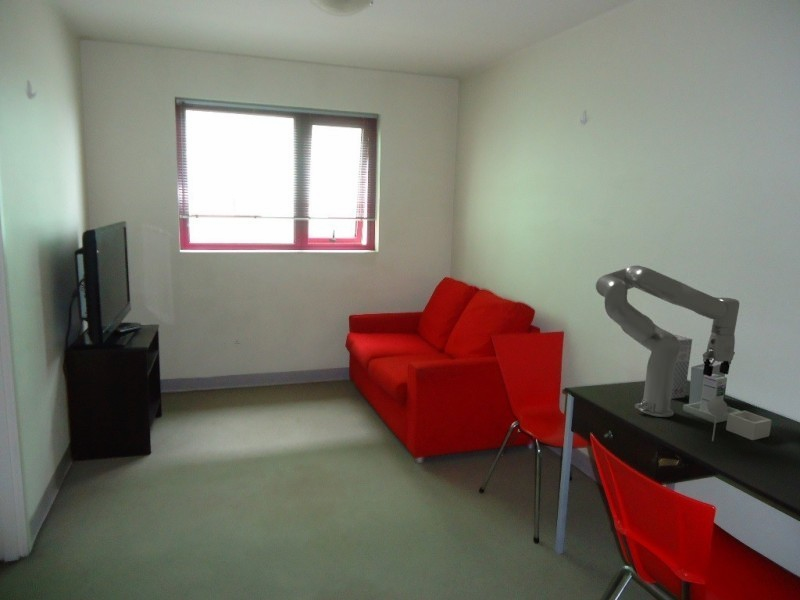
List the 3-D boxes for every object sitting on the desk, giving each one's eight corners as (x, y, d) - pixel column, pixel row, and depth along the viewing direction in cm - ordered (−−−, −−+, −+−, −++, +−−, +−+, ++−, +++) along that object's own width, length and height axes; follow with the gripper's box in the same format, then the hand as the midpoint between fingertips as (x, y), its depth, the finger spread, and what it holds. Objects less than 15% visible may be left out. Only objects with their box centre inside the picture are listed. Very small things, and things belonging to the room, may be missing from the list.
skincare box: (702, 408, 218) (703, 368, 217) (688, 405, 222) (689, 366, 221) (725, 399, 231) (726, 362, 230) (711, 397, 235) (712, 360, 234)
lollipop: (722, 446, 183) (728, 403, 180) (702, 441, 186) (708, 399, 183) (722, 440, 188) (729, 398, 185) (703, 435, 191) (709, 394, 188)
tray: (713, 423, 203) (714, 416, 203) (682, 410, 214) (683, 404, 214) (741, 417, 210) (742, 411, 210) (709, 405, 221) (710, 399, 221)
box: (670, 399, 228) (677, 340, 224) (653, 392, 235) (660, 335, 231) (684, 396, 231) (692, 339, 227) (667, 390, 239) (674, 334, 235)
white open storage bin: (752, 440, 189) (755, 423, 188) (725, 429, 197) (728, 413, 196) (769, 436, 193) (771, 419, 192) (742, 426, 201) (744, 410, 200)
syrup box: (713, 415, 208) (718, 379, 206) (698, 410, 213) (703, 374, 211) (722, 413, 211) (728, 377, 208) (708, 408, 216) (713, 373, 213)
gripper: (717, 334, 199) (710, 379, 202) (747, 332, 207) (739, 375, 210) (698, 329, 206) (691, 373, 209) (727, 327, 214) (720, 369, 217)
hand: (715, 374), depth 210 cm, fingers open, 9 cm apart
